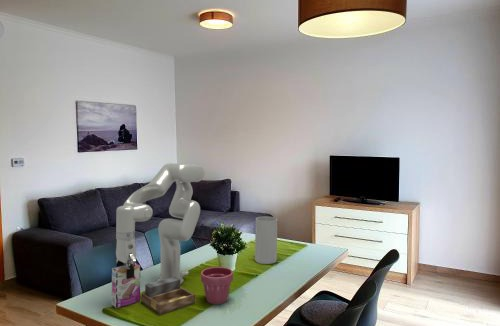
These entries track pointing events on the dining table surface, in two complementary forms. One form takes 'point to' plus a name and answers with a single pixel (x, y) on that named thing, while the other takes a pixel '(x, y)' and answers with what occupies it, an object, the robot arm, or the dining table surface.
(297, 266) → the dining table surface
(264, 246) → the cylinder vase
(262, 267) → the dining table surface
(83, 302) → the dining table surface
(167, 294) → the tray
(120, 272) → the candy bar box
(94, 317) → the dining table surface
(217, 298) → the plant pot
